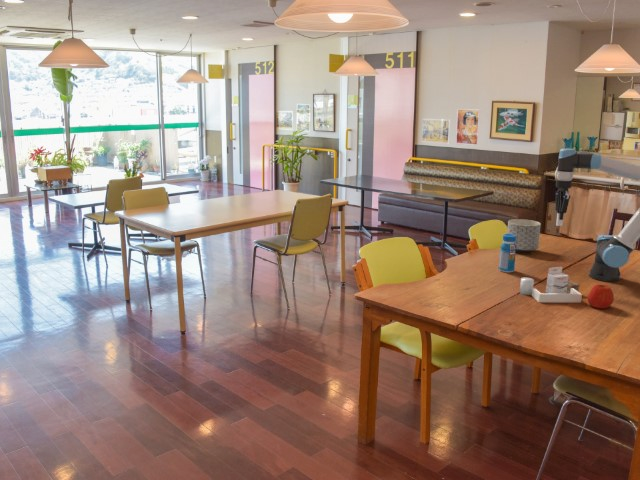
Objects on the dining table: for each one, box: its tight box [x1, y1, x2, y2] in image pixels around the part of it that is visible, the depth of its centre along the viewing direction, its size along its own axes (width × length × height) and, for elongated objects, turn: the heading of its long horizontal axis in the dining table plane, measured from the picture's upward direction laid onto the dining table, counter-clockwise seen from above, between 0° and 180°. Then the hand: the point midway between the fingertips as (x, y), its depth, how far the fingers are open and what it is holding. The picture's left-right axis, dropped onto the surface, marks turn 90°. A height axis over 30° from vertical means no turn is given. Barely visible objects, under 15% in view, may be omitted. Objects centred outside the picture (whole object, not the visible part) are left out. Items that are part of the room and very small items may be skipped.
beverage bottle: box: [498, 233, 517, 273], centre depth 331 cm, size 8×8×20 cm
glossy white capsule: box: [519, 276, 535, 296], centre depth 296 cm, size 6×6×7 cm
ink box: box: [545, 266, 569, 293], centre depth 289 cm, size 8×5×15 cm, turn 112°
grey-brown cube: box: [566, 281, 580, 293], centre depth 297 cm, size 5×5×5 cm
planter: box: [506, 218, 542, 254], centre depth 374 cm, size 19×19×18 cm
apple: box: [587, 283, 615, 309], centre depth 278 cm, size 11×11×11 cm
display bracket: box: [531, 287, 583, 303], centre depth 288 cm, size 20×9×4 cm, turn 92°
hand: (559, 225), depth 311 cm, fingers closed
